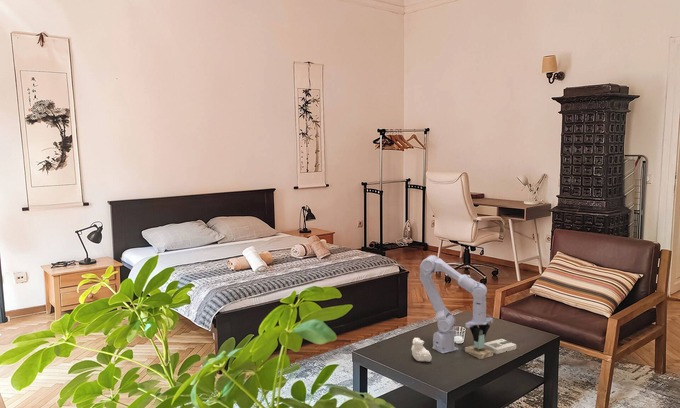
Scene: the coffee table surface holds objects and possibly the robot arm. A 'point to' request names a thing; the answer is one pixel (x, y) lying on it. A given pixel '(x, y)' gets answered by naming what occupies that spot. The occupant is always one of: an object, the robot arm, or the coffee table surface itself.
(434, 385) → the coffee table surface
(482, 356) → the holster
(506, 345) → the port housing
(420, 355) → the white animal figurine
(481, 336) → the plug
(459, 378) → the coffee table surface
